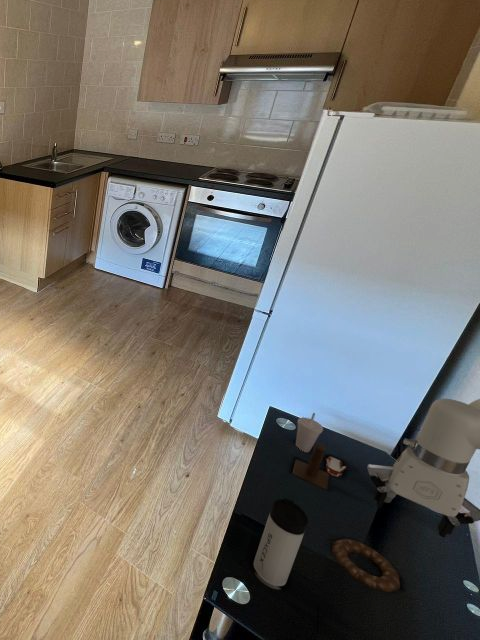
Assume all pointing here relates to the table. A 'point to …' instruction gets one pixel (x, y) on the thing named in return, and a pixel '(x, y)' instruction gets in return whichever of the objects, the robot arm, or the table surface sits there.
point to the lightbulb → (389, 494)
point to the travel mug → (280, 543)
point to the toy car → (334, 466)
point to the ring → (384, 583)
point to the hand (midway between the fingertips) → (408, 517)
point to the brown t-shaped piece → (312, 469)
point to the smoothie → (307, 433)
